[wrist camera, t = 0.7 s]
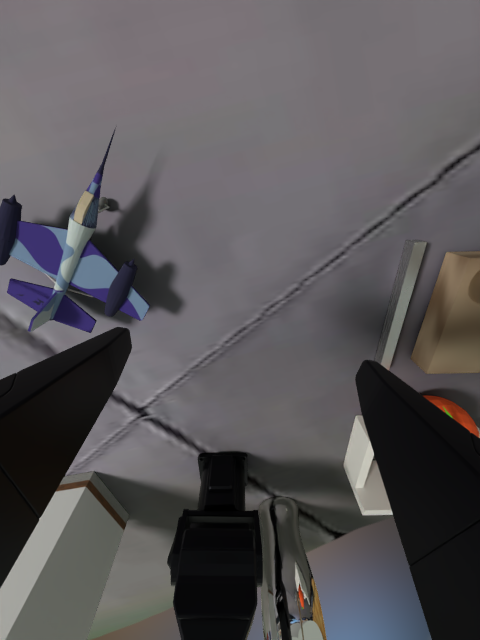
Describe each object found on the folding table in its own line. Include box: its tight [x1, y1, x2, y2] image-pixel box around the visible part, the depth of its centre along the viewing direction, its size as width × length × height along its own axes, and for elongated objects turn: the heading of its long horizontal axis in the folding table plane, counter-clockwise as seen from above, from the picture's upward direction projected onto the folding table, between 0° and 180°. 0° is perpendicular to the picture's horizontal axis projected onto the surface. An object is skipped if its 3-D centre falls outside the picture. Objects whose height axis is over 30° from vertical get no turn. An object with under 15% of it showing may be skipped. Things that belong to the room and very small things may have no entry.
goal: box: [343, 415, 480, 515], centre depth 30 cm, size 10×13×6 cm
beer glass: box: [259, 497, 327, 640], centre depth 32 cm, size 7×7×15 cm
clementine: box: [423, 395, 479, 438], centre depth 26 cm, size 8×7×7 cm
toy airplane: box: [0, 128, 150, 333], centre depth 20 cm, size 13×14×4 cm
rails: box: [374, 240, 427, 370], centre depth 24 cm, size 13×12×1 cm
